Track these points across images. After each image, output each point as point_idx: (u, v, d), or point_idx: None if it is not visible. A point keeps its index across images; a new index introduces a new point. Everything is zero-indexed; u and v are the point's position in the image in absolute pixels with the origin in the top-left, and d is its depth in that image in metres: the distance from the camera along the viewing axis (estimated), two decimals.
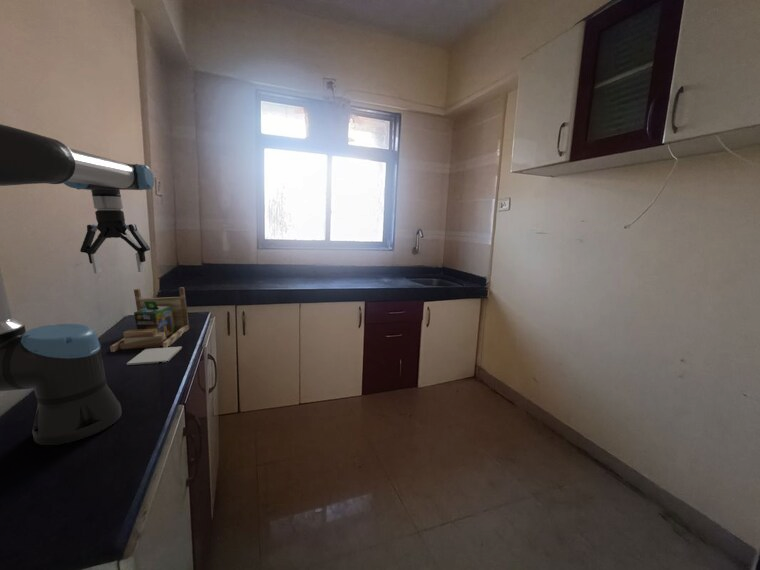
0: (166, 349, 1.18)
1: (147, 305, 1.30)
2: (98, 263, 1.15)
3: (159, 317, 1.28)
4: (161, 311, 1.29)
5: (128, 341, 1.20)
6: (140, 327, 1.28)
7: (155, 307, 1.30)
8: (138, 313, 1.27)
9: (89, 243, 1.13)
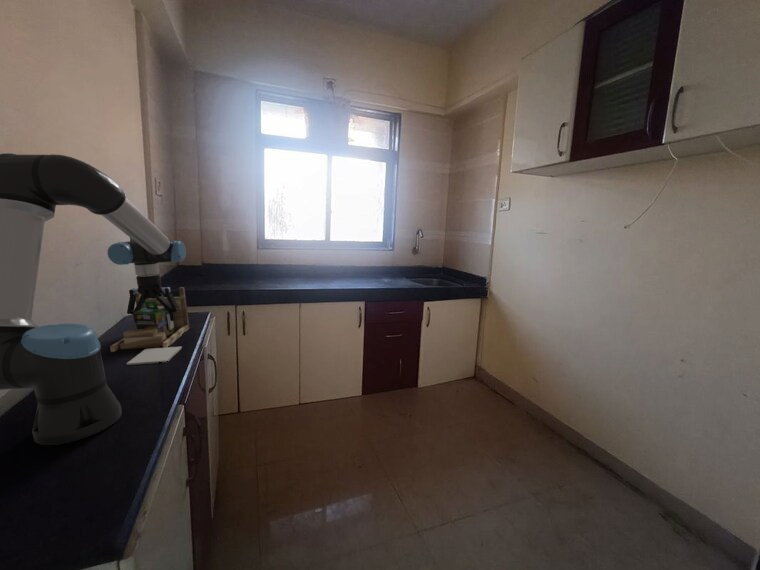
0: (166, 349, 1.18)
1: (147, 305, 1.30)
2: None
3: (159, 317, 1.28)
4: (161, 311, 1.29)
5: (128, 341, 1.20)
6: (140, 327, 1.28)
7: (155, 307, 1.30)
8: (138, 313, 1.27)
9: (133, 305, 1.29)
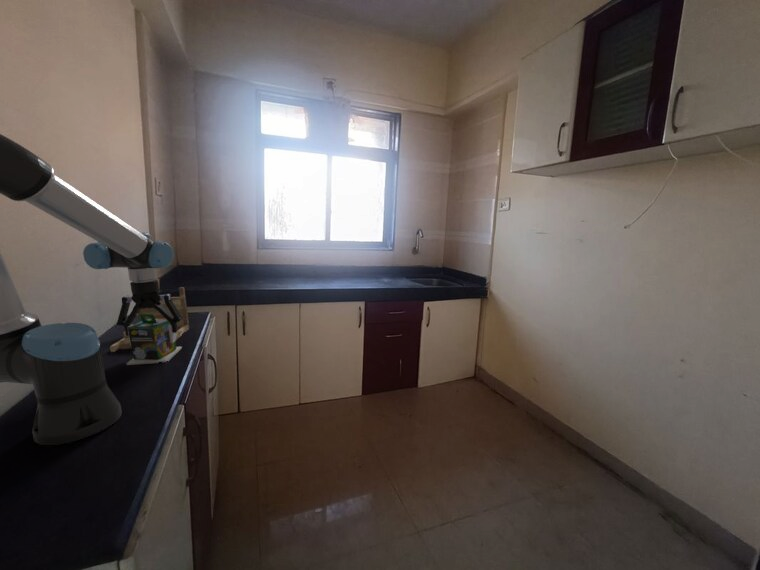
0: None
1: (143, 318, 1.11)
2: None
3: (158, 332, 1.10)
4: (160, 325, 1.10)
5: (128, 341, 1.20)
6: (135, 344, 1.09)
7: (153, 320, 1.11)
8: (133, 328, 1.08)
9: (125, 315, 1.10)
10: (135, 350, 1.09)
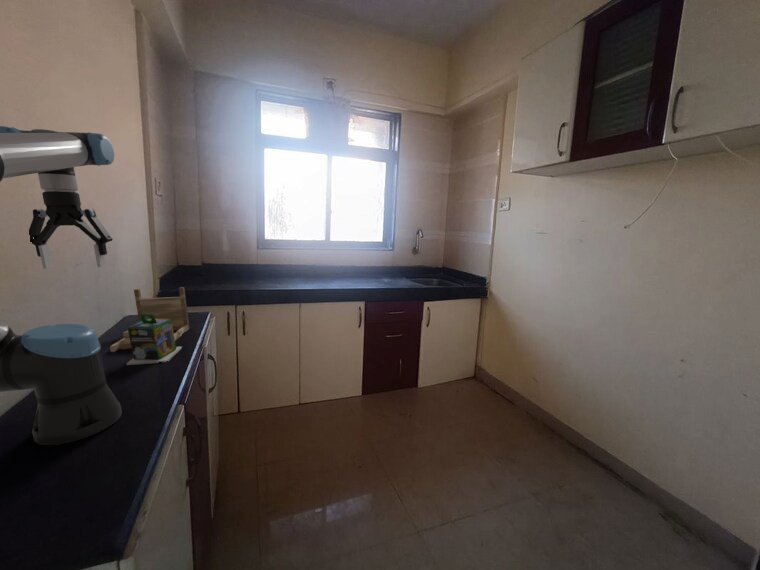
0: None
1: (143, 318, 1.11)
2: (49, 256, 0.95)
3: (158, 332, 1.10)
4: (160, 325, 1.10)
5: (128, 341, 1.20)
6: (135, 344, 1.09)
7: (153, 320, 1.11)
8: (133, 328, 1.08)
9: (37, 232, 0.93)
10: (135, 350, 1.09)
